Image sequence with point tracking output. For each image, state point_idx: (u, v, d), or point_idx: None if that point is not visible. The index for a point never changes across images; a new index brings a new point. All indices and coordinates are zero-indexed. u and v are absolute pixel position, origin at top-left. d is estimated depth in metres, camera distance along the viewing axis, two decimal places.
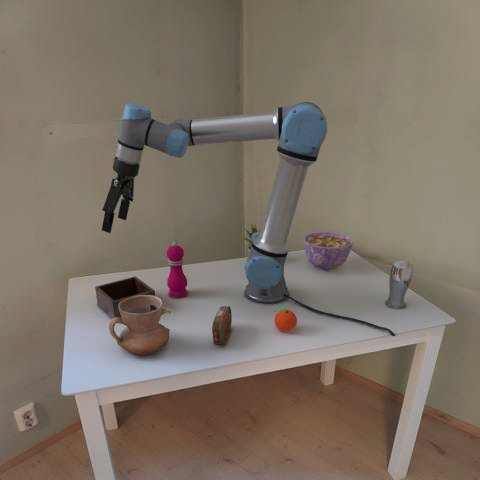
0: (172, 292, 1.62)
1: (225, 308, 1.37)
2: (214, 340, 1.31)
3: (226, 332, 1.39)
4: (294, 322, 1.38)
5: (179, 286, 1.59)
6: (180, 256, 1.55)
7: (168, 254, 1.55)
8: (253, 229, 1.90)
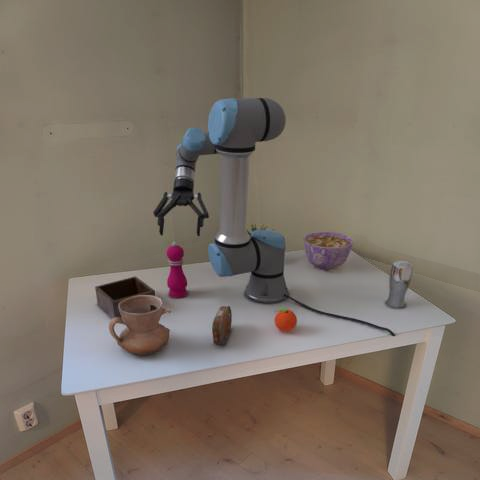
0: (172, 292, 1.62)
1: (225, 308, 1.37)
2: (214, 340, 1.31)
3: (226, 332, 1.39)
4: (294, 322, 1.38)
5: (179, 286, 1.59)
6: (180, 256, 1.55)
7: (168, 254, 1.55)
8: (253, 229, 1.90)
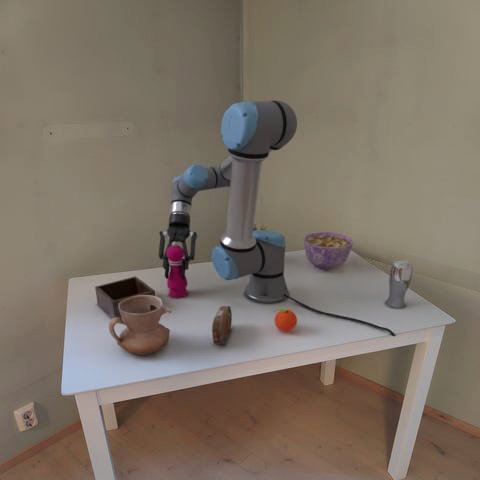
0: (172, 292, 1.62)
1: (225, 308, 1.37)
2: (214, 340, 1.31)
3: (226, 332, 1.39)
4: (294, 322, 1.38)
5: (179, 286, 1.59)
6: (180, 256, 1.55)
7: (168, 254, 1.55)
8: (253, 229, 1.90)
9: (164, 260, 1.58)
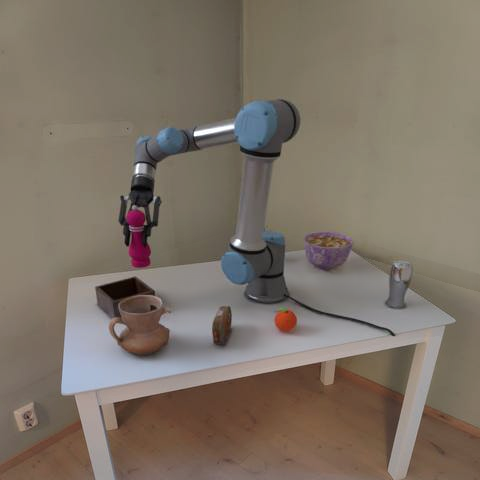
0: (133, 262, 1.49)
1: (225, 308, 1.37)
2: (214, 340, 1.31)
3: (226, 332, 1.39)
4: (294, 322, 1.38)
5: (141, 254, 1.47)
6: (141, 221, 1.43)
7: (128, 219, 1.43)
8: None
9: (124, 226, 1.46)
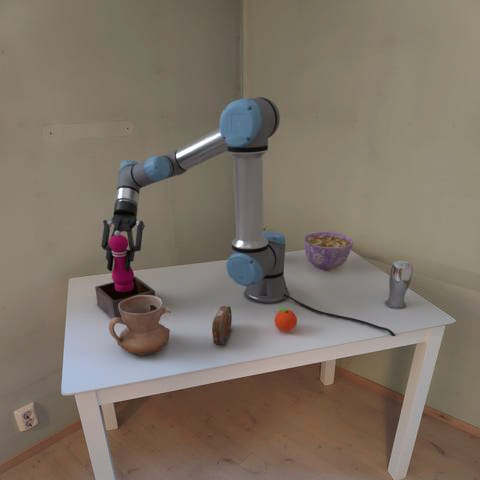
0: (117, 286, 1.50)
1: (225, 308, 1.37)
2: (214, 340, 1.31)
3: (226, 332, 1.39)
4: (294, 322, 1.38)
5: (124, 279, 1.47)
6: (123, 246, 1.43)
7: (110, 244, 1.43)
8: None
9: (107, 251, 1.47)
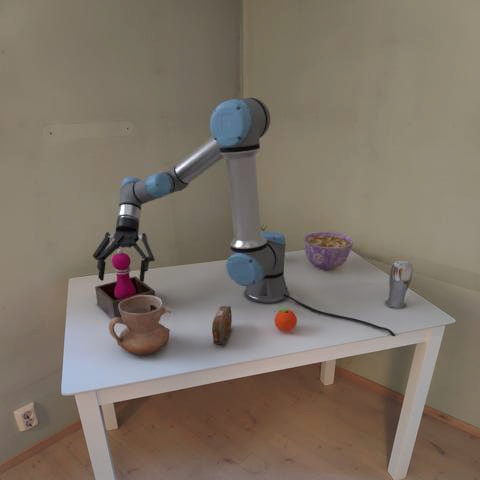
0: None
1: (225, 308, 1.37)
2: (214, 340, 1.31)
3: (226, 332, 1.39)
4: (294, 322, 1.38)
5: (126, 295, 1.50)
6: (126, 264, 1.46)
7: (113, 262, 1.46)
8: None
9: (99, 261, 1.50)
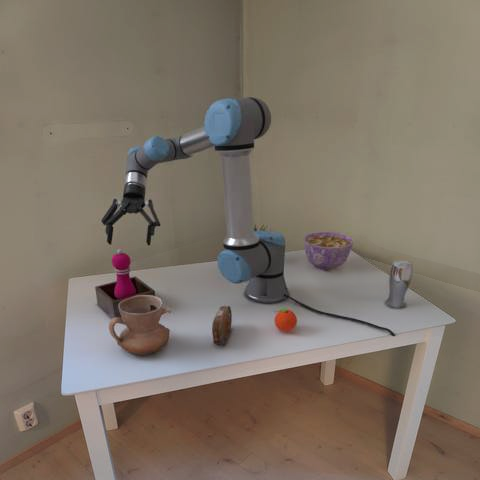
0: None
1: (225, 308, 1.37)
2: (214, 340, 1.31)
3: (226, 332, 1.39)
4: (294, 322, 1.38)
5: (126, 295, 1.50)
6: (126, 264, 1.46)
7: (113, 262, 1.46)
8: None
9: (107, 225, 1.57)
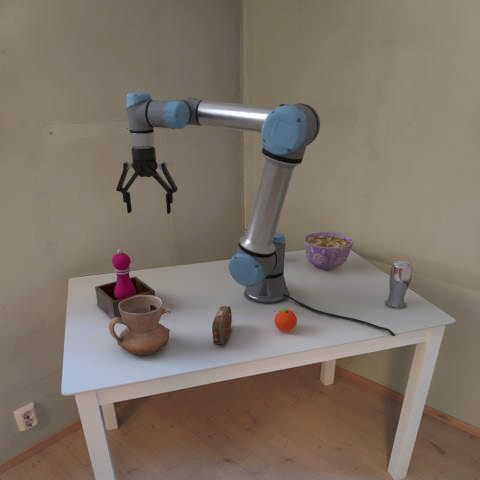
0: None
1: (225, 308, 1.37)
2: (214, 340, 1.31)
3: (226, 332, 1.39)
4: (294, 322, 1.38)
5: (126, 295, 1.50)
6: (126, 264, 1.46)
7: (113, 262, 1.46)
8: None
9: (123, 194, 1.52)
